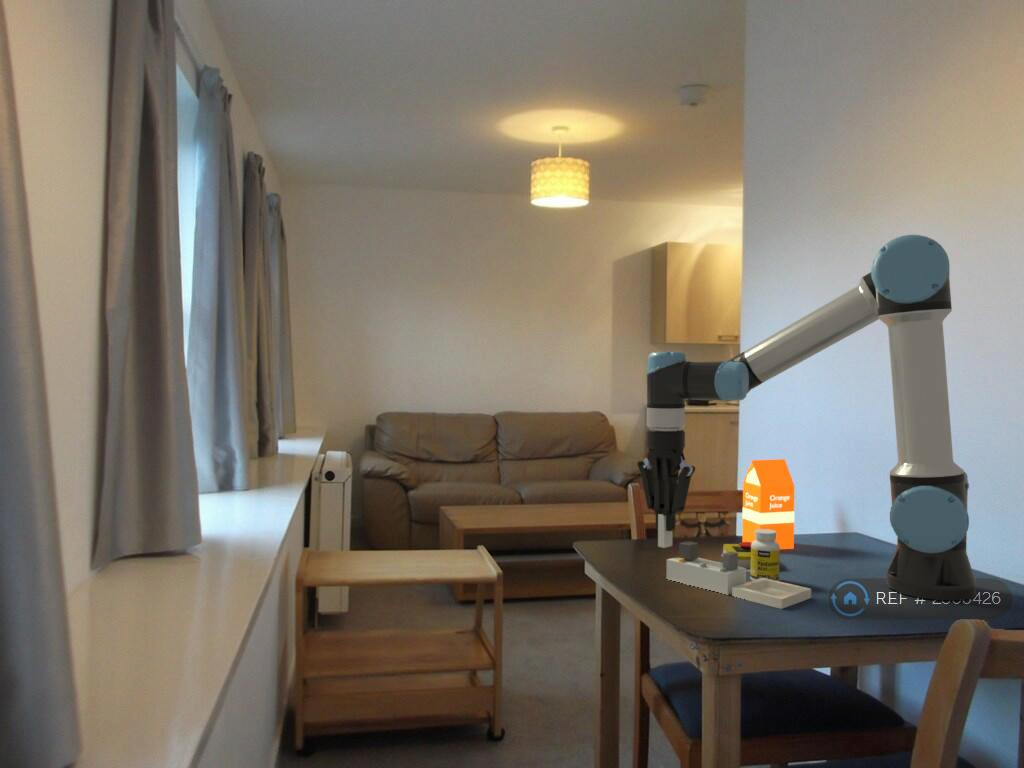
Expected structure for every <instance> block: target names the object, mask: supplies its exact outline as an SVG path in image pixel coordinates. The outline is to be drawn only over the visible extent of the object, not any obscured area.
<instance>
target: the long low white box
mask: <svg viewBox="0 0 1024 768" xmlns="http://www.w3.org/2000/svg"><path fill="white" fill-rule="evenodd" d="M722 554H723V553H722ZM666 579H668V580H667V581H669V580H672V581H671V582H673V581H676V582H675V583H677V582H680V583H679V584H681V583H683V584H682V585H685V584H686V586H689V585H691V586H690V587H693V586H695V587H694V588H697V587H699V588H698V589H701V588H703V589H702V590H705V589H707V590H706V591H709V590H711V591H710V592H712V591H715V592H714V593H716V592H719V593H718V594H720V593H722V595H724V594H726V595H725V596H730V595H732V587H735V586H738V585H741V584H744V583H747V572H746V568H743V567H738V553H736V552H728V553H724V554H723V557H722V562H720V561H715V560H711V559H707V558H702V557H698V559H694V560H690V561H688V560H685V559H684V558H679V556H674V557H672V558H668V559H666ZM729 594H730V595H729Z"/></svg>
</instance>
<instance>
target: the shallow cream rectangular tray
mask: <svg viewBox="0 0 1024 768" xmlns="http://www.w3.org/2000/svg"><path fill="white" fill-rule="evenodd" d="M732 596H734V597H733V598H736V597H737V599H740V598H741V599H740V600H744V599H745V600H744V601H749V602H752V603H756V604H761V605H764V606H768V607H772V608H776V609H781V610H782V609H785V608H788V607H791V606H794V605H796V604H799V603H802V602H805V601H806V600H810V599H812V588H809V587H806V586H800V585H796V584H793V583H789V582H782V581H780V580H779V581H775V580H771V579H766V578H760V579H757V580H754V581H752V580H751V581H746V583H744V584H741V585H738V586H735V587H732V594H731V597H732Z"/></svg>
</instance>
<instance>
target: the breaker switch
mask: <svg viewBox="0 0 1024 768" xmlns="http://www.w3.org/2000/svg"><path fill="white" fill-rule="evenodd" d="M678 547H679V548H678V557H679V558H684V559H685V560H688V561H690V560H694V559H698V558H699V543H698V542H694V541H689V540H687V541H683V542H679V543H678Z"/></svg>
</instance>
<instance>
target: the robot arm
mask: <svg viewBox="0 0 1024 768" xmlns="http://www.w3.org/2000/svg"><path fill="white" fill-rule="evenodd" d="M870 269H871V271H870V272H869V273H867V274H865V275H863V276H862V277H861V278H860V281H859V284H858V285H857V286H856V287H854V288H852V289H849V290H848V291H846V292H845V293H843V294H841V295H840V296H838V297H836V298H834V299H833V300H831V301H829V302H828V303H826V304H824V305H822V306H820V307H819V308H817V309H815V310H813V311H812V312H811V313H808V314H806V315H804V316H803V317H802V318H799V319H798V320H796V321H795V322H792V323H791V324H790V325H788V326H786V327H784V328H783V329H781V330H778V331H777V332H775V333H773V334H772V335H770V336H769V337H767V338H765V339H763V340H761V341H759V342H758V343H757V344H754V345H753V346H751V347H750V348H747V349H746V350H744V351H742V352H741V353H738V354H737V355H735V356H734V357H732V358H729V359H728V360H725V361H724V360H723V361H689V360H687V359H686V354H685V352H683V351H653V352H650V353H649V354H648V356H647V364H646V365H647V367H646V373H645V374H646V426H647V427H648V428H649V429H647V431H646V447H647V448H648V451H647V454H646V458H644V459H643V460H639V461H637V464H636V465H637V467H638V469H639V471H640V473H641V479H642V486H643V492H644V496H645V501H646V506H647V509H648V510H652V511H653V512H654V514H655V529H657V547H659V548H663V549H665V548H669V547H673V531H675V530H676V515H677V514H678V513H682V512H684V511H685V509H686V507H685V506H686V502H687V498H688V492H689V489H690V484H691V479H692V476H693V475H694V473H695V471H696V466H694V465H690V464H689V463H688V462H686V458H685V455H684V449H685V447H686V432H685V430H683V428H685V426H686V416H685V415H686V400H689V401H690V400H691V401H693V400H699V401H719V402H720V401H722V402H723V401H724V402H734V401H736V402H737V401H744V400H745V398H746V397H747V395H748V393H750V392H751V390H754V389H755V388H757V387H758V386H761V385H762V384H763V383H766V382H767V381H769V380H771V379H773V378H774V377H776V376H778V375H779V374H782V373H784V372H785V371H787V370H789V369H791V368H792V367H794V366H796V365H798V364H800V363H802V362H803V361H805V360H807V359H809V358H811V357H813V356H815V355H816V354H818V353H820V352H822V351H823V350H826V349H828V348H829V347H831V346H833V345H834V344H836V343H838V342H840V341H842V340H844V339H845V338H847V337H849V336H851V335H853V334H855V333H857V332H858V331H860V330H863V329H864V328H866V327H868V326H869V325H871V324H873V323H875V322H877V321H880V322H882V323H884V324H885V325H886V326H887V329H888V330H887V333H888V345H889V358H890V369H891V370H890V373H891V382H892V383H891V384H892V385H891V386H892V396H893V397H892V398H893V409H894V410H893V411H894V422H895V423H894V424H895V436H896V439H895V440H896V450H897V464H896V465H894V466H893V468H892V469H890V471H889V481H890V496H891V498H890V499H891V507H890V511H889V522H890V526H891V528H892V530H893V532H894V534H895V535H896V537H897V541H896V547H895V551H894V553H893V555H892V558H891V561H890V564H889V566H888V568H887V569H888V570H887V572H886V584H887V583H888V585H889V586H891V587H892V588H894V589H895V590H896V591H895V592H897V591H898V592H897V593H899V594H903V595H907V596H911V597H915V598H916V597H917V598H922V599H928V600H936V601H938V600H939V601H962V600H963V601H965V600H970V599H973V598H975V597H976V596H977V579H976V578H975V575H974V572H973V569H972V565H971V563H970V562H971V561H970V559H969V557H968V553H967V540H968V539H967V538H968V537H967V534H968V531H969V528H970V527H969V525H970V519H969V518H970V517H969V513H968V490H969V488H970V484H969V479H968V474H967V472H965V470H964V468H961V467H960V465H958V464H957V463H956V462H955V461H954V454H953V442H952V441H953V440H952V427H951V414H950V401H949V387H948V376H947V363H946V350H945V337H944V335H945V334H944V325H943V323H944V320H945V319H946V318H947V317H948V315H950V313H952V310H953V308H952V297H951V282H950V259H949V256H948V253H947V252H946V250H945V249H944V248H943V245H941V244H940V243H939V242H937V241H936V240H935V239H933V238H931V237H928V236H925V235H920V234H905V235H901V236H898V237H895V238H893V239H891V240H890V241H888V242H887V243H885V244H884V245H883V246H882V247H881V248H880V249H879V251H878V252H877V254H876V255H875V257H874V259H873V262H872V265H871V268H870ZM975 595H976V596H975ZM974 596H975V597H974Z"/></svg>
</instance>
